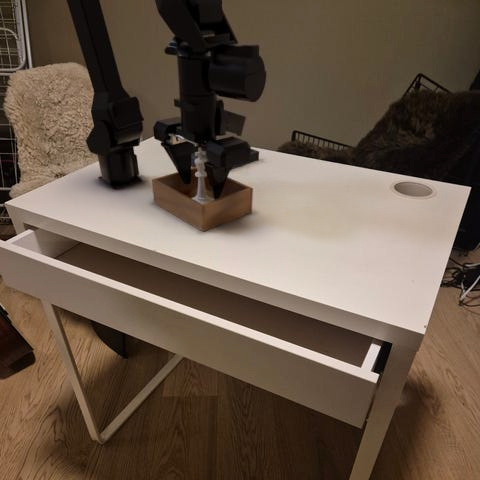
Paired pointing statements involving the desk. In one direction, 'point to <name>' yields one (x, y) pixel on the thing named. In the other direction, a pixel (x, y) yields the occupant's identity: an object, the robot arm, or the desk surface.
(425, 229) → the desk surface
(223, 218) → the wooden box
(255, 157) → the tray
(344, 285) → the desk surface
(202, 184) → the chess piece
